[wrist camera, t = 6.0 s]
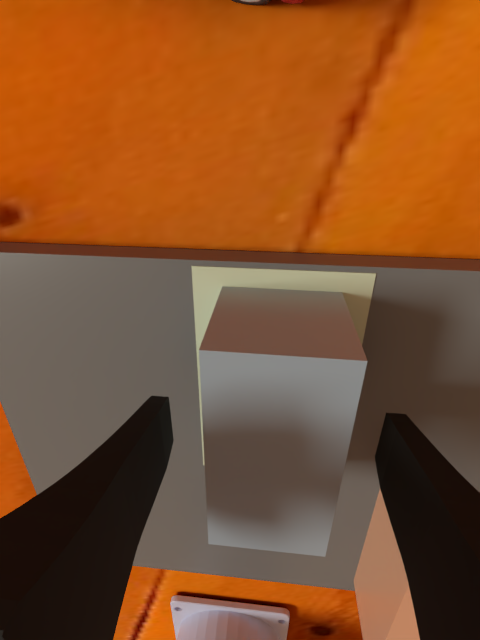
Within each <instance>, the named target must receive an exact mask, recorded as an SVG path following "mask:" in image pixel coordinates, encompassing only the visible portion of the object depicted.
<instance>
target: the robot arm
mask: <svg viewBox="0 0 480 640" xmlns="http://www.w3.org/2000/svg"><path fill="white" fill-rule="evenodd" d="M173 441H174V439H173V430H172V421H171V412H170V403H169V397H163V396H151V397H149V398H148V399H147V400H146V401H145V402H144V403H143V404H142V405H141V406H140V407H139V408H138V410H137V411H136V412H135V413H134V414H133V415H132V416H131V417H130V418H129V419H128V420H127V421H126V422H125V423H124V424H123V425H122V426H121V427H120V428H119V429H118V430H117V431H115V432H114V433H113V434H112V435H111V436H110V437H109V438H108V439H107V440H106V441H105V442H104V443H103V444H102V445H101V446H99V447H98V448H97V449H96V450H95V451H94V452H93V453H91V454H90V455H89V456H88V457H87V458H86V459H85V460H83V461H82V462H81V463H80V464H79V465H77V466H76V467H75V468H74V469H72V470H71V471H70V472H69V473H67V474H66V475H65V476H63V477H62V478H61V479H59V480H58V481H57V482H55V483H54V484H53V485H51V486H50V487H48V488H47V489H46V490H44V491H43V492H41V493H40V494H38V495H37V496H35V497H34V498H32V499H31V500H29V501H28V502H26V503H25V504H23V505H22V506H20V507H19V508H17V509H15V510H14V511H12V512H10V513H9V514H7V515H5V516H4V517H2V518H0V640H113V637H114V633H115V629H116V625H117V621H118V617H119V613H120V609H121V606H122V602H123V598H124V594H125V591H126V587H127V583H128V579H129V576H130V572H131V569H132V565H133V561H134V558H135V554H136V551H137V548H138V545H139V542H140V539H141V536H142V533H143V530H144V528H145V525H146V522H147V520H148V517H149V514H150V512H151V509H152V507H153V504H154V501H155V499H156V496H157V493H158V491H159V488H160V485H161V483H162V480H163V477H164V475H165V472H166V469H167V466H168V462H169V458H170V454H171V450H172V445H173ZM375 462H376V468H377V474H378V479H379V485H380V489H381V493H382V496H383V499H384V503H385V506H386V509H387V512H388V516H389V519H390V522H391V525H392V529H393V532H394V535H395V538H396V541H397V545H398V548H399V551H400V554H401V557H402V561H403V564H404V568H405V572H406V575H407V579H408V584H409V589H410V593H411V598H412V603H413V607H414V612H415V617H416V622H417V627H418V632H419V637H420V640H480V493H479V492H478V491H477V490H476V489H475V488H474V487H473V486H472V485H471V484H470V483H469V482H468V481H467V480H466V479H465V478H464V477H463V476H462V475H461V474H460V473H459V472H458V471H457V470H456V469H455V468H454V467H453V466H452V465H451V464H450V462H449V461H448V460H447V459H446V458H445V457H444V456H443V455H442V454H441V453H440V452H439V451H438V450H437V448H436V447H435V446H434V445H433V444H432V443H431V442H430V441H429V440H428V438H427V437H426V436H425V435H424V434H423V433H422V432H421V431H420V429H419V428H418V427H417V426H416V425H415V424H414V423H413V422H412V420H411V419H410V418H409V417H408V416H407V415H406V414H399V413H386V415H385V419H384V423H383V427H382V431H381V435H380V438H379V442H378V446H377V450H376V454H375ZM170 605H171V611H172V617H173V623H174V629H175V635H176V640H287V633H288V626H289V619H290V612H289V610H288V609H286V608H282V607H274V606H265V605H257V604H248V603H240V602H232V601H223V600H215V599H206V598H198V597H190V596H181V595H174V596H173V597H172V599H171V603H170Z"/></svg>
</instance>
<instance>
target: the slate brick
mask: <svg viewBox="0 0 480 640" xmlns="http://www.w3.org/2000/svg"><path fill="white" fill-rule="evenodd" d="M199 362H200V383H201V403H202V423H203V444H204V464H205V484H206V504H207V525H208V544H213V545H222V546H231V547H240V548H249V549H259V550H268V551H277V552H286V553H295V554H304V555H313V556H323V557H325V556H326V551H327V546H328V542H329V537H330V533H331V528H332V523H333V519H334V514H335V509H336V505H337V500H338V496H339V491H340V486H341V482H342V477H343V472H344V468H345V463H346V459H347V454H348V449H349V445H350V440H351V435H352V431H353V426H354V422H355V417H356V412H357V408H358V403H359V398H360V394H361V389H362V385H363V380H364V375H365V371H366V366H367V358H366V355H365V353H364V350H363V347H362V345H361V342H360V339H359V337H358V334H357V331H356V329H355V326H354V323H353V320H352V318H351V315H350V312H349V310H348V307H347V304H346V302H345V299H344V296H343V293H342V292H325V291H306V290H286V289H266V288H246V287H226V286H222V288H221V291H220V294H219V297H218V299H217V302H216V305H215V308H214V310H213V313H212V316H211V318H210V321H209V324H208V327H207V329H206V332H205V335H204V338H203V340H202V343H201V346H200V348H199Z"/></svg>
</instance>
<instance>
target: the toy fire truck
mask: <svg viewBox="0 0 480 640" xmlns="http://www.w3.org/2000/svg"><path fill="white" fill-rule="evenodd" d="M232 1H234V2H238V3H243V4H250V5H263V4H267V3H268V2H270V1H271V0H232ZM281 1H283V2H284V3H290V4H296V3H302V2H303V1H304V0H281Z"/></svg>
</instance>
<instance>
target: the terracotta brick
mask: <svg viewBox="0 0 480 640" xmlns="http://www.w3.org/2000/svg"><path fill="white" fill-rule="evenodd" d="M354 587H355V593H356V599H357V606H358V612H359V618H360V624H361V631H362V637H363V640H420V637H419V632H418V627H417V622H416V617H415V612H414V607H413V603H412V598H411V593H410V589H409V584H408V579H407V575H406V572H405V568H404V564H403V561H402V557H401V554H400V551H399V548H398V545H397V541H396V538H395V535H394V532H393V529H392V525H391V522H390V519H389V516H388V512H387V509H386V506H385V503H384V499H383V496H382V493H381V489H380V490H379V493H378V497H377V500H376V504H375V507H374V511H373V514H372V518H371V521H370V525H369V528H368V532H367V535H366V539H365V542H364V546H363V549H362V553H361V556H360V560H359V563H358V567H357V570H356V574H355V577H354Z"/></svg>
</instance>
